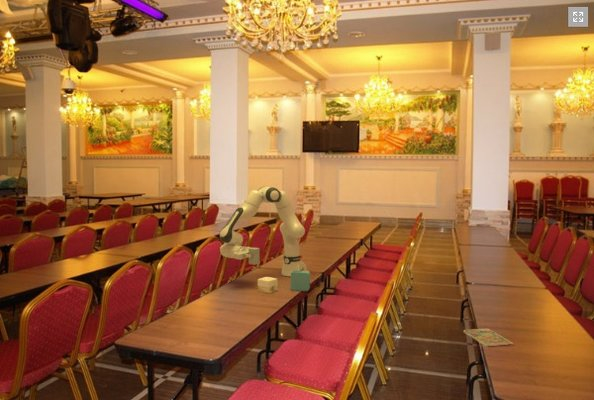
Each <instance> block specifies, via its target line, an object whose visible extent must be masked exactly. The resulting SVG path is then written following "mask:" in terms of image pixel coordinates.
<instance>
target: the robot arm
mask: <svg viewBox="0 0 594 400" xmlns="http://www.w3.org/2000/svg"><path fill="white" fill-rule="evenodd" d="M264 202H265V203H274V205H275V209H276V211H277V214H278V217H279V219H280V220H281V221H282V222H281V224H280V225H279V231H280V233H281V235H282V240H283V245H284V246H283V248H284V251H283V252H284V253H283V261H282V268H281V270H280V273H281V275H282V276H285V277H291V273H292V272H293V271H308V272H310V270H307V266H306V264H305V263H304V261H302V260H301V259H303V255H301V254H300V243H299V242H298V240H297V239H300V238H303V236H304V235H305V232H306V230H305V227H304V226H303V224H302V223H301V222H300V220H299V219H298V217H297V216H296V213H295V211H294V209H293V206H292V203H291V200H290V198H289V196H288V195H287V192H286V191H284V190H279V189H278V188H276V187H272V186H262V187H260V188H259V189H257V190H256V189H252V190H250V192H249V193H248V195H246V197H245V200H244V201H243V204H242V205H241V206H240V207H237V209H235V211H234V212H233V213H232V215H231V216H230V218H229V220H228V221H227V223H226V224H225V226H224V227H222V229H221V230H220V232H219V237H218V238H219V239H220V241H221V242H222V243H224V244H222V245H221V246H220V247H219V252H220V254H221V255H222V256H223V257H226V258H229V259H235V260H240V261H241V260H244V259H249V257H250V258H251V257H253V255H251V254H249V248H251V247H250V246H247V245H246V246H242V245H243V242H244V236H243V234H241V233H239V232H238V231H236V230H234V229H235V227H236V225H237V224H238V223H239V221H240V220H241V219H245V218H247V219H248V218H252V217H254V216H255V215H256V214H257V213H258V212H259V211H258V210H259V208H260V206H261V204H262V203H264Z"/></svg>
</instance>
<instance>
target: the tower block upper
mask: <svg viewBox="0 0 594 400" xmlns="http://www.w3.org/2000/svg"><path fill="white" fill-rule="evenodd" d="M278 279H279V278H277V277H276V278H275V277H271V276H264V277H260V278H258V279H257V286H258V285H259V286H263V287H267V288H269V287H272V286H276V285H278Z"/></svg>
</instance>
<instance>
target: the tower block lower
mask: <svg viewBox="0 0 594 400" xmlns="http://www.w3.org/2000/svg"><path fill="white" fill-rule="evenodd" d="M278 288H279V286H278V284H277V285H276V286H272V287H269V288H267V287H263V286H259V285H258V284H257V291H258V292H260V293H265V294H272V293H274V292H279V291H278V290H279V289H278Z"/></svg>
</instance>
